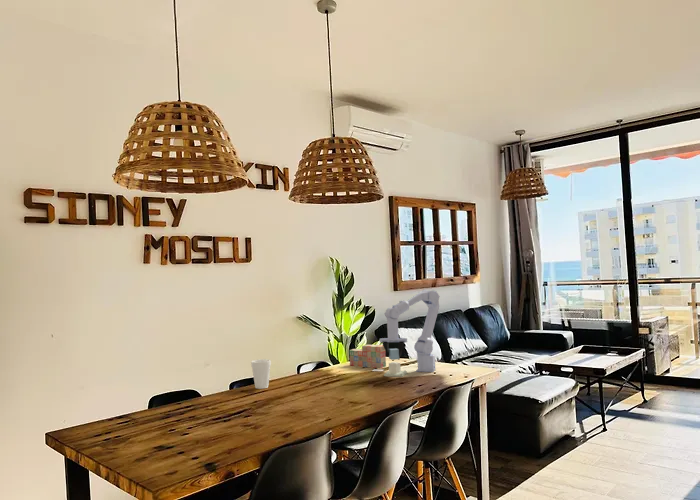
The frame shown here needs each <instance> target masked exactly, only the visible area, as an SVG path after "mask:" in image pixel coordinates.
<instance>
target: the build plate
mask: <svg viewBox="0 0 700 500" xmlns="http://www.w3.org/2000/svg"><path fill="white" fill-rule="evenodd" d="M407 372H408V371H407V370H401V372H400V373H397V374H395V373H389V370H388V371H386V372H385V373H384V374H383V377H401V378H402V377H404V376H405V375H407V374H408V373H407Z"/></svg>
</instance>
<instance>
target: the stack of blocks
mask: <svg viewBox="0 0 700 500" xmlns="http://www.w3.org/2000/svg"><path fill="white" fill-rule="evenodd" d="M348 353H349V366H350V367H351V366H352V367H363V368H373V369H382V368H385V367H387V362H386V361H387V359H386V358H387V354H386V351H385V348H384V346H383V344H365V345H362V347H361V348H352V349H349V351H348Z"/></svg>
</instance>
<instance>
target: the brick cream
mask: <svg viewBox="0 0 700 500" xmlns="http://www.w3.org/2000/svg"><path fill="white" fill-rule="evenodd" d="M401 368H402V367H401V362H395V361H394V362H393V361H391V362H389V363H388V371H389V373H395V374H397V373H400V372H401V371H402V369H401Z"/></svg>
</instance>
